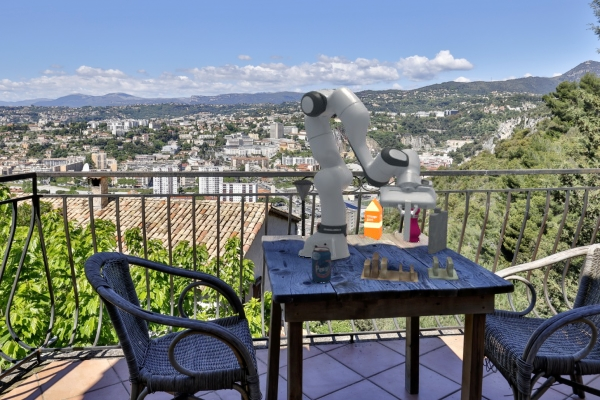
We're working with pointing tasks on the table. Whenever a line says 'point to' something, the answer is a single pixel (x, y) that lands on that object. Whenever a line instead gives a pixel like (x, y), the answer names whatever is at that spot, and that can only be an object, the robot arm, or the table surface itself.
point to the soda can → (321, 264)
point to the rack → (386, 271)
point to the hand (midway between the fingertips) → (407, 216)
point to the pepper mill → (414, 227)
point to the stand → (442, 270)
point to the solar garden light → (303, 197)
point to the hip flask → (437, 230)
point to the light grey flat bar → (407, 220)
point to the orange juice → (373, 220)
